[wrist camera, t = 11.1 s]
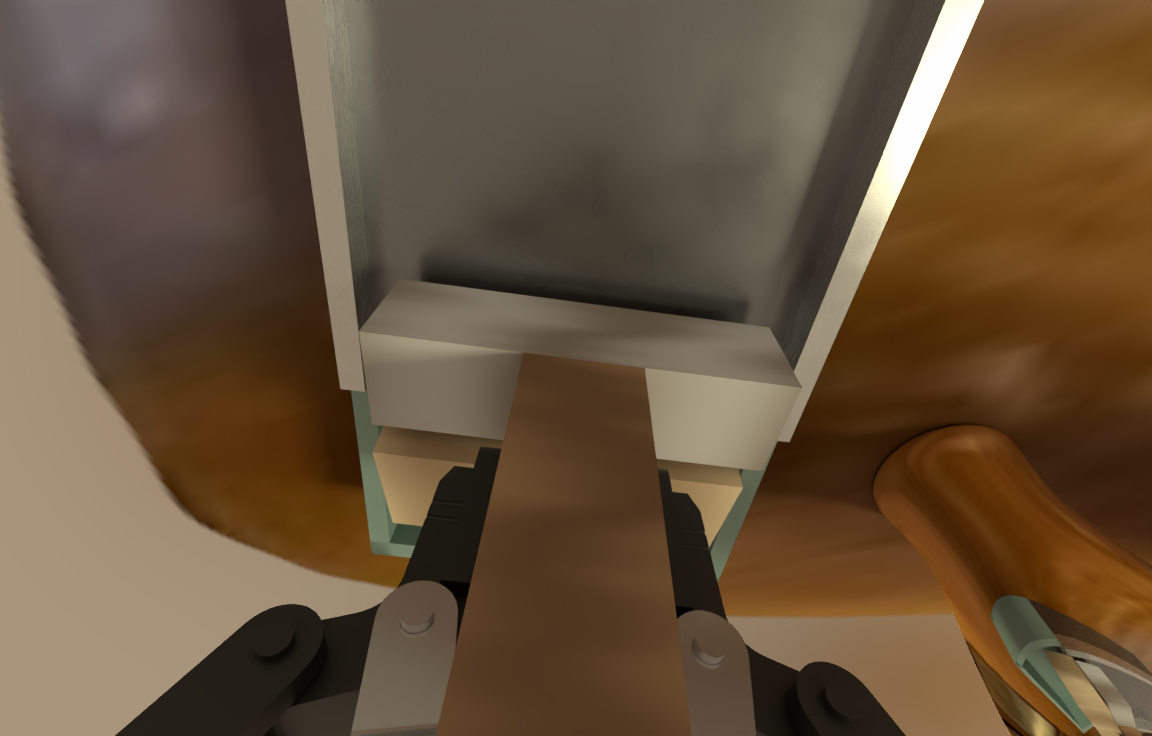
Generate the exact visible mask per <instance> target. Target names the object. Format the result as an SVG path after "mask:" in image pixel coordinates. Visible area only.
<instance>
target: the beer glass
mask: <svg viewBox="0 0 1152 736" xmlns="http://www.w3.org/2000/svg"><path fill="white" fill-rule="evenodd" d="M873 496H874V500H875V503H876V505H877V507H878V508H879V510H880V511H881V512H882V514H883V515H884V516H885V517H886V518H887V519H888V520H889V521H890V522H891V524H892V525H893V526H894V527H895V528H896V529H897V530H898V531H899V532H900V533H901V534H902V535H903V536H904V537H905V538H906V539H907V540H908V541H909V542H910V543H911V544H912V545H913V546H914V547H915V549H916V550H917V551H918V552H919V554H920V555H921V556H922V558H923V559H924V560H925V562H926V563H927V564H928V566H929V568H930V569H931V571H932V573H933V574H934V576H935V578H936V579H937V581H938V583H939V585H940V587H941V589H942V591H943V593H944V595H945V598H946V600H947V602H948V604H949V606H950V608H951V610H952V613H953V615H954V617H955V620H956V622H957V624H958V626H959V629H960V631H961V633H962V636H963V638H964V640H965V643H966V645H967V647H968V649H969V651H970V654H971V656H972V658H973V660H974V663H975V665H976V667H977V669H978V671H979V673H980V676H981V678H982V680H983V683H984V685H985V687H986V689H987V691H988V693H989V695H990V697H991V698H992V701H993V703H994V705H995V707H996V709H997V711H998V713H999V715H1000V717H1001V719H1002V721H1003V723H1004V725H1005V727H1006V729H1007V731H1008V733H1009V734H1010V736H1152V565H1151V564H1149V563H1148V562H1146V561H1145V560H1143V559H1142V558H1140V557H1139V556H1137V555H1136V554H1134V553H1133V552H1131V551H1130V550H1128V549H1127V548H1125V547H1124V546H1122V545H1121V544H1119V543H1118V542H1116V541H1115V540H1113V539H1112V538H1110V537H1109V536H1107V535H1106V534H1104V533H1103V532H1102V531H1100V530H1099V529H1097V528H1096V527H1094V526H1093V525H1092V524H1090V523H1089V522H1087V521H1086V520H1084V519H1083V518H1082V517H1081V516H1079V515H1078V514H1077V513H1076V512H1074V511H1073V510H1072V509H1071V508H1070V507H1068V506H1067V505H1066V504H1065V503H1064V502H1062V501H1061V500H1060V499H1059V498H1058V497H1057V496H1056V495H1055V494H1054V493H1053V492H1052V491H1051V490H1050V489H1049V488H1048V486H1047V485H1046V484H1045V483H1044V482H1043V480H1042V479H1041V478H1040V477H1039V476H1038V474H1037V473H1036V472H1035V470H1034V469H1033V467H1032V466H1031V465H1030V463H1029V462H1028V460H1027V459H1026V458H1025V456H1024V455H1023V454H1022V452H1021V451H1020V450H1019V448H1018V447H1017V446H1016V445H1015V443H1014V442H1013V441H1012V440H1011V439H1010V438H1008V437H1007V436H1006V435H1004V434H1003V433H1001V432H999V431H997V430H995V429H992V428H989V427H985V426H979V425H956V426H949V427H944V428H940V429H936V430H933V431H930V432H927V433H925V434H922V435H920V436H918V437H916V438H914V439H912V440H910V441H909V442H907V443H905V444H904V445H902V446H901V447H900V448H898V449H897V450H896V451H895V452H894V453H892V454H891V455H890V456H889V457H888V458H887V460H886V461H885V462H884V463H883V465H882V466H881V468H880V469H879V471H878V473H877V475H876V477H875V480H874V484H873Z"/></svg>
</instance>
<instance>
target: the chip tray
mask: <svg viewBox="0 0 1152 736" xmlns="http://www.w3.org/2000/svg"><path fill="white" fill-rule="evenodd" d="M351 394H352V402H353V410H354V418H355V425H356V433H357V441H358V449H359V457H360V464H361V472H362V480H363V488H364V495H365V503H366V511H367V519H368V526H369V534H370V542H371V550H372V554H380V555H390V556H399V557H408V558H411V556H412V553H413V550H414V548H415V545H416V542H417V539H418V537H419V534H420V531H421V529H422V526H416V525H407V524H398V523H393V522H392V518H391V515H390V511H389V508H388V504H387V501H386V497H385V494H384V490H383V487H382V484H381V480H380V477H379V473H378V470H377V466H376V463H375V459H374V456H373V453H372V452H373V450H374V448H375V445H376V443H377V441H378V438H379V436H380V433H381V431H382V429H383V426H381V425H373V424H372V421H371V414H370V407H369V400H368V393H367V390H366V391H365V392H362V391H353V390H351ZM777 442H778V441H776V444H777ZM776 444H775V446H776ZM775 446H774V448H773V450H772V452H771V454H770V456H769V458H768V460H767V462H766V464H765V466H764V468H763V470H762V471H756V470H747V469H739V468H738V469H739V474H740V478H741V482H742V486H743V489H742V490H741V492H740V494H739V496H738V497H737V499H736V501H735V503H734V504H733V506H732V508H731V510H730V512H729V513H728V515H727V517H726V519H725V520H724V522H723V524H722V526H721V527H720V529H719V531H718V533H717V535H716V536H715V538H714V540H713V542H712V543H711V545H710V547H709V551H710V553H711V557H712V562H713V566H714V570H715V574H716V578H717V582H718V581H719V578H720V576H721V573H722V571H723V569H724V566H725V564H726V562H727V559H728V557H729V555H730V552H731V550H732V548H733V545H734V543H735V540H736V538H737V536H738V533H739V531H740V529H741V526H742V524H743V522H744V519H745V517H746V515H747V512H748V510H749V508H750V505H751V503H752V500H753V498H754V496H755V493H756V491H757V489H758V486H759V484H760V482H761V479H762V477H763V475H764V472H765V470H766V467H767V465H768V463H769V460H770V458H771V456H772V453H773V451H774V449H775Z"/></svg>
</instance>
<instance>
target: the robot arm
mask: <svg viewBox="0 0 1152 736" xmlns="http://www.w3.org/2000/svg"><path fill="white" fill-rule="evenodd" d="M500 453H501V449H499V448H491V447H482V446H481V447H480V449H479V452H478V455H477V458H476V462H475V465H474V468H469V467H460V466H454V467H453V468H452V469H451V470H450V471H449V472H448V473H447V474H446V475H445V476H444V477H443V478H442V479H441V480H440V481H439V483H438V486H437V489H436V491H435V494H434V497H433V500H432V503H431V505H430V507H429V510H428V513H427V517H426V519H425V521H424V523H423V526H422V529H421V531H420V534H419V537H418V539H417V542H416V545H415V548H414V550H413V553H412V556H411V558H410V561H409V564H408V566H407V569H406V572H405V574H404V577H403V579H402V581H401V583H400V584H399V586H398V587H397V589H395V590H394V591H393V592H391V593H390V594H389V595H388V596H387V597H386V598H385V599H384V600H383V602H381V603H380V604H378V605H377V606H374V607H372V608H370V609H368V610H365V611H362V612H358V613H354V614H349V615H344V616H340V617H334V618H329V619H325V620H321V619H320V617H319V616H318V615H317V613H316V612H315V611H313V610H312V609H310V608H308V607H306V606H302V605H297V604H290V605H289V604H287V605H281V606H276V607H273V608H270V609H268V610H266V611H264V612H262V613H260V614H258V615H256V616H255V617H253V618H252V619H250V620H249V621H248V622H246V623H245V624H244V625H243V626H242V627H241V628H239V629H238V630H237V631H236V632H235V633H234V634H233V635H231V636H230V637H229V638H228V639H227V640H226V641H224V642H223V643H222V644H221V645H220V646H219V647H217V648H216V649H215V650H214V651H213V652H212V653H210V654H209V655H208V656H207V657H206V658H205V659H203V660H202V661H201V662H200V663H199V664H198V665H197V666H195V667H194V668H193V669H192V670H191V671H190V672H189V673H187V674H186V675H185V676H184V677H183V678H182V679H180V680H179V681H178V682H177V683H176V684H175V685H173V686H172V687H171V688H170V689H169V690H168V691H167V692H165V693H164V694H163V695H162V696H161V697H159V698H158V699H157V700H156V701H155V702H154V703H153V704H151V705H150V706H149V707H148V708H147V709H145V710H144V711H143V712H142V713H141V714H140V715H139V716H137V717H136V718H135V719H134V720H133V721H132V722H130V723H129V724H128V725H127V726H126V727H125V728H124V729H122V730H121V731H120V732H119V733H118V734H117V735H115V736H436V732H437V727H438V723H439V719H440V714H441V710H442V706H443V701H444V697H445V693H446V688H447V684H448V680H449V675H450V671H451V666H452V662H453V658H454V653H455V649H456V645H457V640H458V636H459V632H460V627H461V623H462V619H463V614H464V610H465V606H466V601H467V597H468V593H469V588H470V584H471V580H472V575H473V571H474V566H475V562H476V558H477V553H478V549H479V545H480V540H481V536H482V532H483V527H484V523H485V519H486V514H487V510H488V506H489V501H490V497H491V493H492V488H493V484H494V480H495V475H496V471H497V467H498V462H499V458H500ZM658 475H659V483H660V491H661V499H662V507H663V515H664V522H665V530H666V538H667V546H668V554H669V561H670V569H671V577H672V585H673V593H674V601H675V608H676V616H677V624H678V632H679V640H680V647H681V655H682V663H683V671H684V679H685V686H686V694H687V702H688V710H689V718H690V726H691V733H692V736H905V734H904V733H903V732H902V731H901V729H900V728H899V727H898V726H897V724H896V723H895V722H894V721H893V720H892V718H891V717H890V716H889V715H888V713H887V712H886V711H885V710H884V708H883V707H882V706H881V705H880V703H879V702H878V701H877V700H876V699H875V697H874V696H873V695H872V694H871V693H870V691H869V690H868V689H867V688H866V687H865V685H864V684H863V683H862V682H861V681H860V680H858V679H857V678H856V677H855V676H854V675H852V674H851V673H850V672H848V671H847V670H845V669H843V668H841V667H839V666H837V665H834V664H831V663H828V662H813V663H810V664H808V665H806V666H805V667H804V668H803V669H802V670H801V671H800V672H799V671H797V670H795V669H792V668H790V667H788V666H785V665H783V664H781V663H778V662H776V661H774V660H772V659H769V658H767V657H765V656H763V655H761V654H759V653H757V652H755V651H754V650H753V649H751V648H750V647H749V646H747V645H746V644H745V642H744V640H743V639H742V637H741V635H740V634H739V633H738V631H737V630H736V629H735V628H734V627H733V626H732V625H731V624H730V623H729V622H728V620H727V618H726V615H725V611H724V607H723V603H722V599H721V595H720V591H719V587H718V582H717V578H716V574H715V570H714V566H713V562H712V557H711V553H710V551H709V545H708V541H707V537H706V535H705V528H704V524H703V520H702V516H701V512H700V510H699V509H698V507H697V506H696V504H695V503H694V502H693V500H692V499H691V497H690V496H689V495H688V494H687V493H678V492H672V487H671V481H670V476H669V472H668V470H667V469H664V468H658Z"/></svg>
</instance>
